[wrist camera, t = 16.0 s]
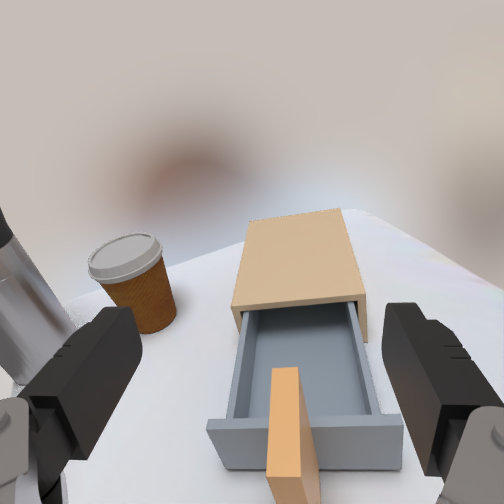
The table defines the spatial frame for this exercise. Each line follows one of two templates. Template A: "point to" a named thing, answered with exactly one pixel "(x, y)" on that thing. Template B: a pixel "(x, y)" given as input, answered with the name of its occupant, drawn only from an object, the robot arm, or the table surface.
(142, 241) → the disposable coffee cup
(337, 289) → the box lid
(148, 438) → the table surface
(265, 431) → the grey box
